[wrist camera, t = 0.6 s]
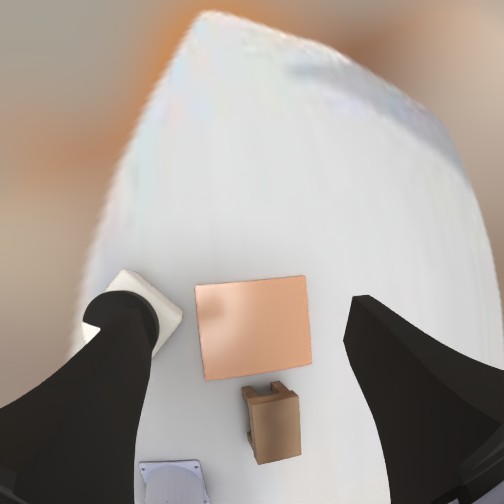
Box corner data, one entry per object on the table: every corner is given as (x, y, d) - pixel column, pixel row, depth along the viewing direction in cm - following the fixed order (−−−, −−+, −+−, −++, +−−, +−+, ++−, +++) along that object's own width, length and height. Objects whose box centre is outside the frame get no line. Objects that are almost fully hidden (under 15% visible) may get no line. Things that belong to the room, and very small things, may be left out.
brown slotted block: (280, 379, 33) (298, 396, 27) (284, 433, 32) (301, 454, 26) (240, 386, 32) (251, 405, 26) (246, 440, 31) (258, 464, 25)
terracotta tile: (310, 362, 34) (312, 363, 33) (205, 379, 31) (205, 380, 31) (303, 275, 35) (305, 275, 35) (194, 285, 32) (194, 285, 32)
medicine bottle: (135, 271, 31) (108, 262, 19) (184, 311, 32) (183, 326, 20) (99, 318, 29) (57, 334, 18) (147, 359, 30) (128, 396, 18)
